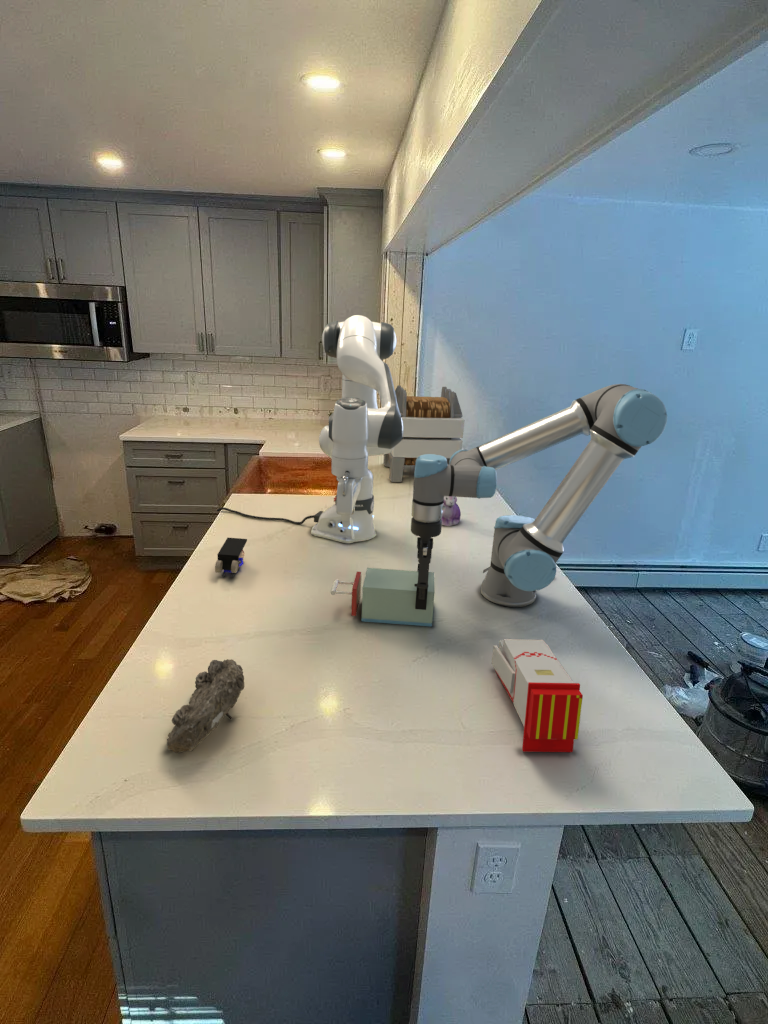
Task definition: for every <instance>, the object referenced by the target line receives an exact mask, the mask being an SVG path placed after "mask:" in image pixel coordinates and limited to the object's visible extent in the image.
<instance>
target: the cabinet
mask: <svg viewBox="0 0 768 1024" xmlns="http://www.w3.org/2000/svg"><path fill="white" fill-rule="evenodd" d="M364 575H365V576H364V579H363V583H362V594H361V595H362V596H361V622H366V623H379V624H391V625H392V624H394V625H407V626H417V627H418V626H419V627H420V626H421V627H433V619H434V618H433V617H434V604H435V594H436V593H435V587H436V586H435V572H434V571H429V576H428V592H427V605H426V610H421V609H415V604H416V590H417V587H415V586H414V584H417V583H418V571H417V570H408V569H407V570H405V569H393V568H392V569H391V568H376V567H367V568H366V572H365V574H364Z"/></svg>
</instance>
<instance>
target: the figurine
mask: <svg viewBox="0 0 768 1024" xmlns="http://www.w3.org/2000/svg"><path fill="white" fill-rule="evenodd" d="M457 501H458V497H452V496H444V503H443V506H445V507H446V509H445V510H442V511H443V513H442V518H441V520H442V526H447V527H451V526H455V525H458V524H459V522H460V520H461V515H462V514H461V509H460V506H459V504H458V503H457Z"/></svg>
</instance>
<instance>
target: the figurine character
mask: <svg viewBox="0 0 768 1024" xmlns="http://www.w3.org/2000/svg"><path fill="white" fill-rule="evenodd" d="M247 542H248V538H240V537H226V539H225V541H224V543H223V544H222V546H221V547H220V549H219V551H218V552H217V560H216V562H215V564H214V572H215V573H221V577H222V578H224V577H225V576H226V574H227V573H230V574H231V573H232V574H231V578H234V577H235V575H236V573H237V572H239V571H240V567H242V566H243V565H244V564H245V562H244V558H245V551H244V547H245V546H246V544H247Z"/></svg>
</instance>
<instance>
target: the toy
mask: <svg viewBox="0 0 768 1024" xmlns="http://www.w3.org/2000/svg"><path fill="white" fill-rule="evenodd" d="M491 665H492V667H493V668H494V671H495V673H496V674H497V677H498V678H499V680H500V682H501V684H502V686H503V687H504V689H505V691H506V693H507V695H508V696H509V699H510V700H511V702H512V703H513V706H514V708H515V711H516V713H517V715H518V717H519V719H520V722H521V723H522V726H523V737H522V747H521V751H522V752H523V753H524V752H525V753H527V752H528V753H532V752H533V753H534V752H535V753H573V752H574V744H575V740H578V739H579V732H580V724H581V723H580V722H581V714H582V705H583V696H584V694H583V693H582V692H581V684H580V683H579V682H574V681H573V679H572V677H570V675H569V674H568V673H567V671H566V670H565V668H564V667H563V665H562V664H561V662H560V661H559V659H557V657H556V656H555V654H554V652H553V651H552V649H551V648H550V646H549V645H548V644H547V643H546V641H545V640H544V639H522V638H521V639H517V638H503V640H499V642H498V646H497V644H494V645H493V649H492V656H491Z"/></svg>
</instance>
